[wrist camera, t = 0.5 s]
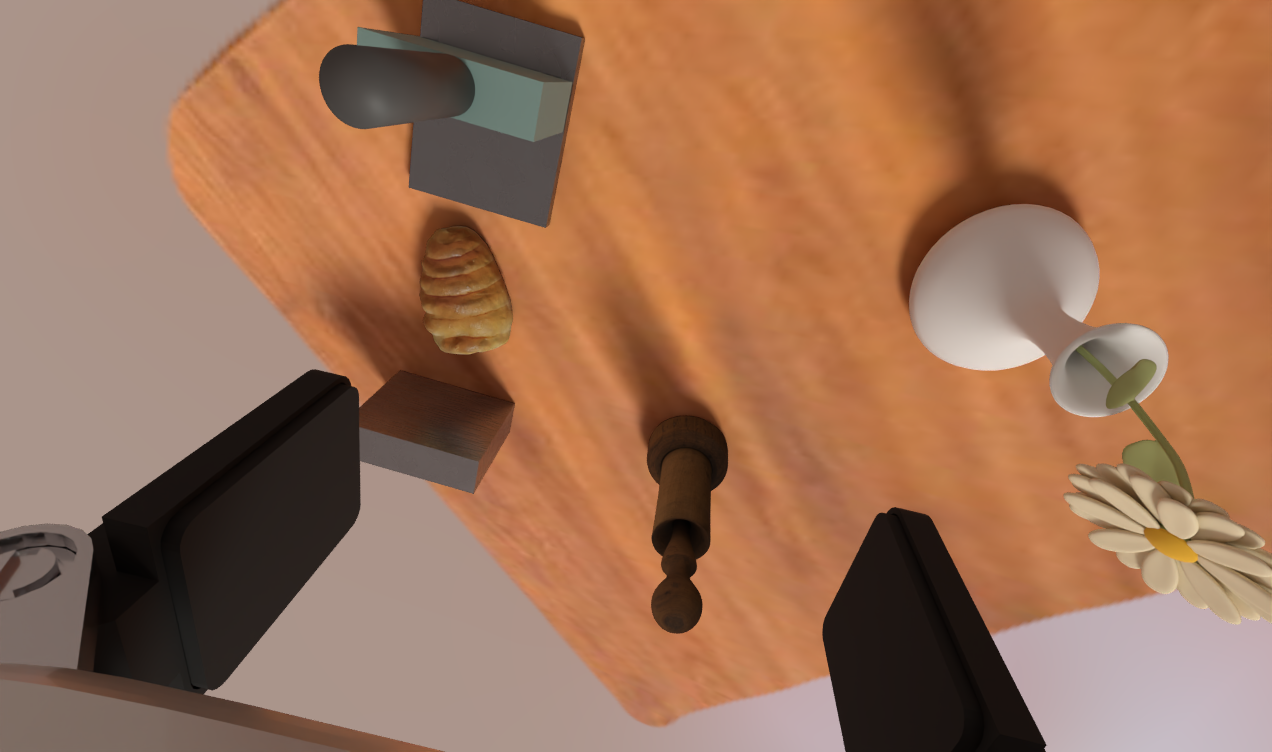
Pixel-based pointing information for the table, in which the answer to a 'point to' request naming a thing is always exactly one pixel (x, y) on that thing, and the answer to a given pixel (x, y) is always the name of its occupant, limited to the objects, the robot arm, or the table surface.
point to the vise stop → (433, 430)
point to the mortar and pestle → (683, 512)
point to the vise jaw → (438, 87)
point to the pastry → (463, 293)
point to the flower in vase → (1087, 395)
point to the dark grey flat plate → (481, 157)
